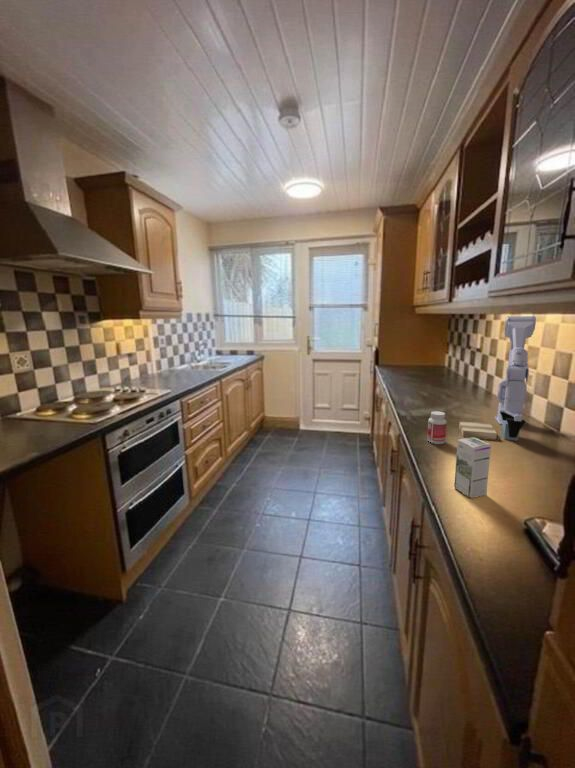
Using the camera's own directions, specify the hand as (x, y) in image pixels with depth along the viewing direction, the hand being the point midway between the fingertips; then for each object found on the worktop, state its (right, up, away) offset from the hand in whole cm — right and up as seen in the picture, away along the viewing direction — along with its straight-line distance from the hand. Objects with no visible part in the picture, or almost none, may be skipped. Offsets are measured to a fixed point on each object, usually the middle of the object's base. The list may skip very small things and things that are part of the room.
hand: (509, 433), depth 126 cm
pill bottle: (-28, -3, -1) cm, 28 cm away
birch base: (-9, -1, +6) cm, 11 cm away
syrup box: (-34, -11, -35) cm, 50 cm away
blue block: (0, -2, 0) cm, 2 cm away
